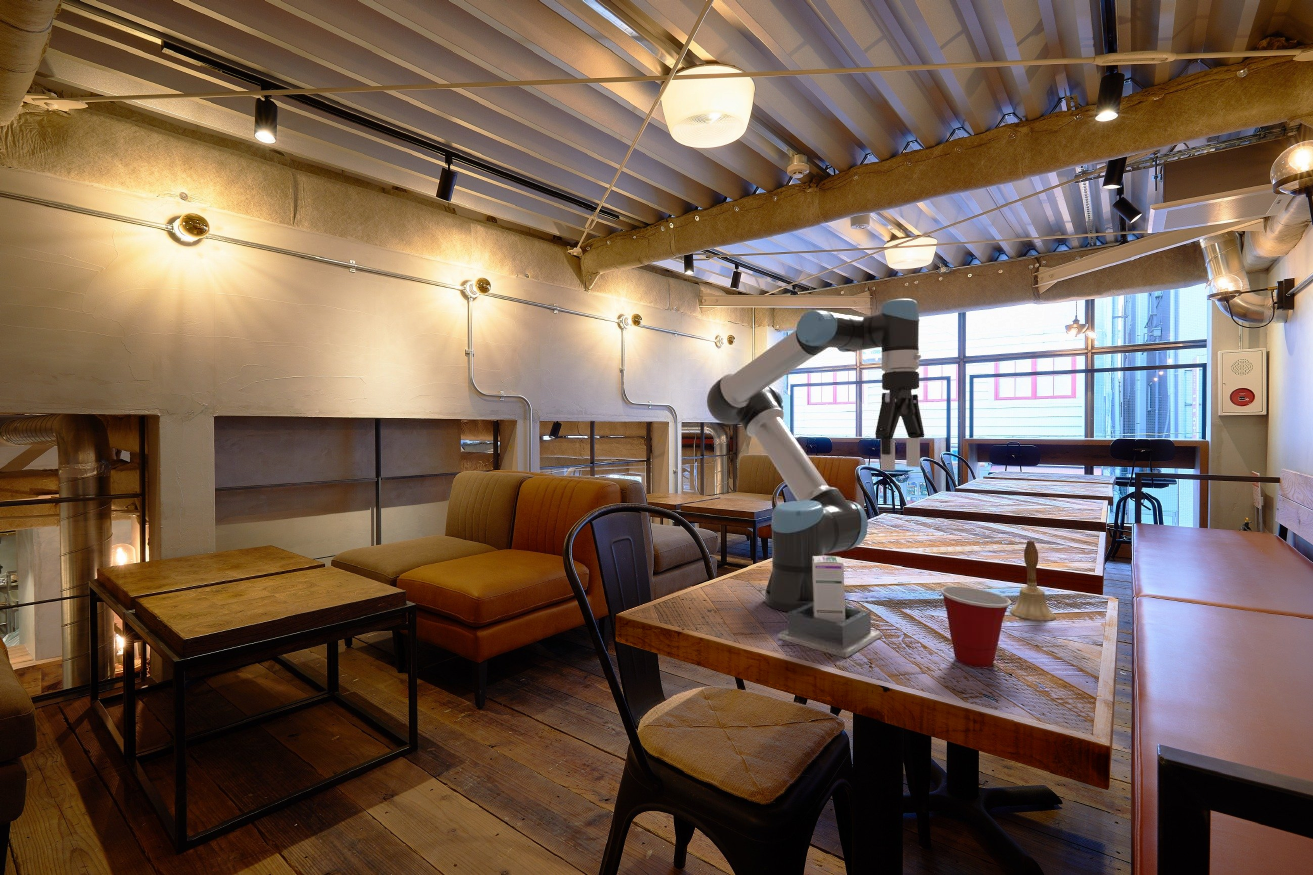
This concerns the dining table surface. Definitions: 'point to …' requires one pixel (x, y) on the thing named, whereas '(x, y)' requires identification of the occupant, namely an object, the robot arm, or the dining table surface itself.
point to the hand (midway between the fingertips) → (901, 468)
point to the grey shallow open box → (830, 631)
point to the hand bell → (1032, 591)
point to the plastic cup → (974, 623)
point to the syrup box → (828, 588)
